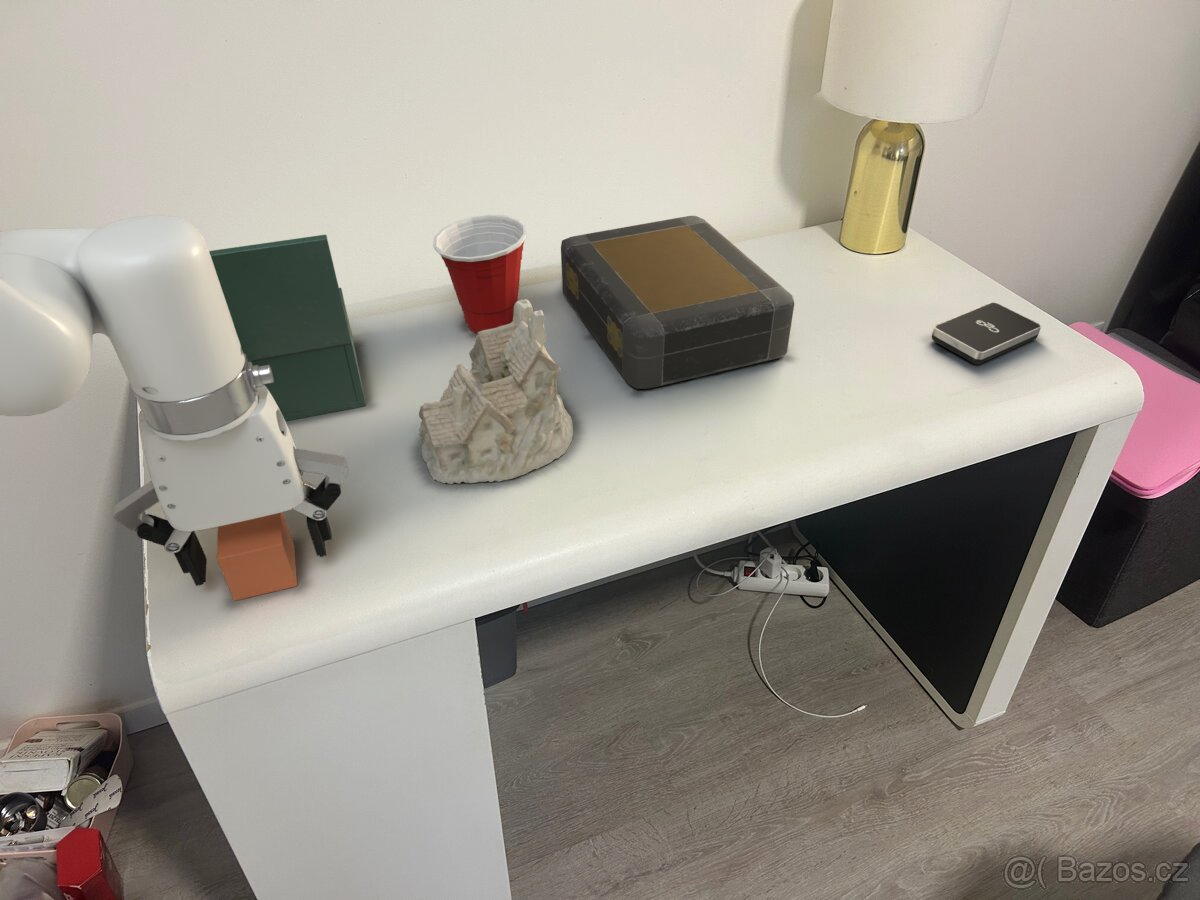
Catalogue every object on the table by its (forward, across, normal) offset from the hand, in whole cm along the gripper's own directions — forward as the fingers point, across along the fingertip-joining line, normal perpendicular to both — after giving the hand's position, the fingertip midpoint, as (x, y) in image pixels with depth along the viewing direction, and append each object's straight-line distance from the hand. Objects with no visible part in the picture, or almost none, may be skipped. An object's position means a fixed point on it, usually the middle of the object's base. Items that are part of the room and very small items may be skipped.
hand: (262, 558), depth 71 cm
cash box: (+2, -48, -27) cm, 55 cm away
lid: (-13, -5, -20) cm, 25 cm away
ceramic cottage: (+2, -23, -13) cm, 26 cm away
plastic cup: (+2, -27, -34) cm, 43 cm away
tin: (+2, -5, -28) cm, 28 cm away
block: (+2, 0, 0) cm, 2 cm away
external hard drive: (+2, -81, -11) cm, 82 cm away
